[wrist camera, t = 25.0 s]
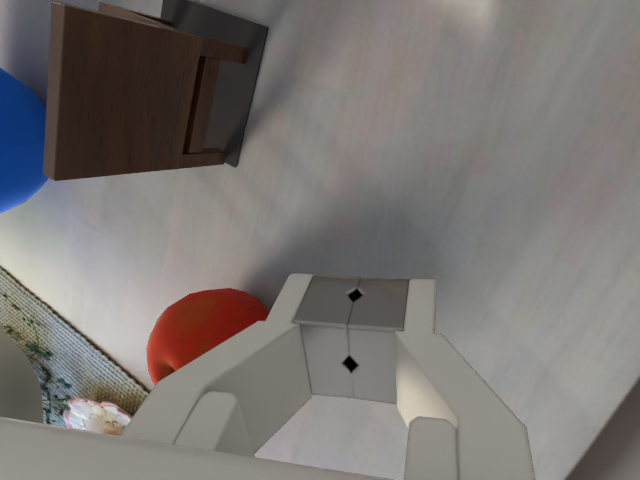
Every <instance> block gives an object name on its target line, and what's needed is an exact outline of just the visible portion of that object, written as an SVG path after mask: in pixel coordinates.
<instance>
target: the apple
mask: <svg viewBox="0 0 640 480" xmlns="http://www.w3.org/2000/svg"><path fill="white" fill-rule="evenodd" d="M269 313H270V312H269V311H268V310H267V309H266V308H265V307H264V306H263V305H262V304H261V303H260V301H259V300H258V299H256V298H254V297H252V296H251V295H249V294H247V293H245V292H243V291H239V290H235V289H231V288H226V289H216V290H206V291H201V292H196V293H192V294H189V295H187V296H186V297H184V298H182V299H181V300H179V301H177V302H176V303H174V304H173V305H171V306H169V307H168V308H167V309H166V310H165V311H164V312H163V314H162V315H161V316H160V317H159V318H158V320H157V322H156V324H155V326H154V328H153V330H152V332H151V335H150V338H149V341H148V345H147V363H148V371H149V374H150V376H151V379H152V382H153V383H154V385H156V384H157V382H158V381H160V380H162V379H163V378H165V377H167V376H168V375H170V374H172V373H173V372H175V371H177V370H178V369H180V368H182V367H183V366H185V365H187V364H188V363H190V362H191V361H193V360H195V359H196V358H198V357H200V356H201V355H203V354H205V353H206V352H208V351H210V350H211V349H213V348H215V347H216V346H218V345H220V344H221V343H223V342H224V341H226V340H228V339H229V338H231V337H233V336H234V335H236V334H238V333H239V332H241V331H243V330H244V329H246V328H248V327H249V326H251V325H253V324H254V323H256V322H257V321H266V319H267V317H268V315H269Z"/></svg>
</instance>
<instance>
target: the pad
mask: <svg viewBox="0 0 640 480" xmlns="http://www.w3.org/2000/svg"><path fill="white" fill-rule="evenodd" d="M161 18H163V19H166V20H169V21H171V22H173V26H174V28H176V29H179V30H181V31H184V32H187V33H190V34H193V35H197V36H201V37H205V38H209V39H214V40H218V41H222V42H226V43H230V44H234V45H238V46H241V47H244V48H247V49H249V51H248V58H247V60H246V64H241V63H236V62H231V61H226V60H221V59H220V60H221V61H220V66H219V71H218V77H217V82H216V87H215V92H214V97H213V102H212V107H211V112H210V117H209V122H208V128H207V133H206V138H205V143H204V148H216V147H217V148H219V149H221V150H223V151H225V152H226V159H225V161H224V162H225V163H227V164H229V165H231V166H233V167H236V165H237V161H238V156H239V152H240V148H241V143H242V139H243V135H244V131H245V126H246V122H247V118H248V113H249V109H250V105H251V100H252V96H253V92H254V87H255V83H256V79H257V75H258V70H259V66H260V62H261V57H262V53H263V49H264V44H265V40H266V36H267V31H268V27H266V26H263V25H260V24H257V23H254V22H251V21H248V20H245V19H242V18H239V17H236V16H233V15H230V14H227V13H224V12H221V11H218V10H215V9H212V8H209V7H206V6H203V5H200V4H197V3H194V2H191V1H188V0H163V4H162V11H161Z"/></svg>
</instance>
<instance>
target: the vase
mask: <svg viewBox="0 0 640 480" xmlns="http://www.w3.org/2000/svg"><path fill="white" fill-rule="evenodd" d="M45 123H46V107H45V105H44V104H43V103H42V102H41V100H40V99H39V98H38V97H37V96H36V95H35V94H34V93H33V92H32V91H31V90H30V89H29V88H28V87H27V86H26V85H24V84H23V83H22V82H20V81H19V80H17V79H16V78H14V77H13V76H11V75H10V74H9V73H7V72H6V71H4V70H3V69H1V68H0V213H2V212H4V211H7V210H9V209H11V208H13V207H15V206H17V205H19V204H21V203H23V202H25V201H26V200H28V199H29V198H30V197H31V196H32V195H33V194H34V193H36V192H37V191H38V190H39V189H40V188H41V187H42V186H43V185H44V183H45V182H46V181H47V179H48V177H47V176H45V175H44V174H43V161H44V142H45Z"/></svg>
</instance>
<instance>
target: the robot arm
mask: <svg viewBox="0 0 640 480" xmlns="http://www.w3.org/2000/svg"><path fill="white" fill-rule="evenodd" d="M435 317H436V280H435V279H410V280H409V279H380V278H361V277H349V276H334V275H319V274H315V275H314V274H300V273H293V274H291V275H289V276H288V278H287V280H286V282H285V284H284V286H283V288H282V290H281V292H280V294H279V296H278V298H277V300H276V301H275V303H274V305H273V307H272V309H271V311H270V313H269V315H268V317H267V319H266V321H257V322H256V323H254V324H253V325H251V326H249V327H248V328H246V329H244V330H243V331H241V332H239V333H238V334H236V335H234V336H233V337H231V338H229V339H228V340H226V341H224V342H223V343H221V344H220V345H218V346H216V347H215V348H213V349H211V350H210V351H208V352H206V353H205V354H203V355H201V356H200V357H198V358H196V359H195V360H193V361H191V362H190V363H188V364H187V365H185V366H183V367H182V368H180V369H178V370H177V371H175V372H173V373H172V374H170V375H168V376H167V377H165V378H163V379H162V380H160V381H158V382H157V384H156V385H155V386H154V388H153V389H152V391H151V392H150V394H149V395H148V396H147V398H146V399H145V401H144V402H143V404H142V405H141V406H140V408H139V409H138V411H137V412H136V414H135V415H134V416H133V418H132V419H131V421H130V422H129V424H128V425H127V426H126V428H125V429H124V431H123V432H122V434H121V435H120V436H117V435H110V434H104V433H98V432H92V431H85V430H79V429H73V428H66V427H60V426H54V425H48V424H41V423H35V422H29V421H22V420H16V419H10V418H4V417H0V480H393V479H386V478H380V477H374V476H368V475H361V474H355V473H349V472H343V471H336V470H330V469H324V468H317V467H311V466H305V465H299V464H292V463H286V462H280V461H274V460H267V459H261V458H255V456H254V454H255V453H256V452H257V451H258V450H259V449H260V448H261V447H262V446H263V445H264V444H265V443H266V442H267V441H268V440H269V439H270V438H271V437H272V436H273V435H274V434H275V433H276V432H277V431H278V430H279V429H280V428H281V427H282V426H283V425H284V424H285V423H286V422H287V421H288V420H289V419H290V418H291V417H292V416H293V415H294V414H295V413H296V412H297V411H298V410H299V409H300V408H301V407H302V406H303V405H304V404H305V403H306V402H307V401H308V400H309V399H310V398H311V397H312V396H311V395H322V396H334V397H345V398H355V399H362V400H369V401H376V402H383V403H390V404H397V408H398V410H399V411H400V413H401V415H402V417H403V419H404V421H405V423H406V425H407V427H408V429H409V432H408V442H407V452H406V462H405V473H404V480H536V479H535V473H534V468H533V462H532V456H531V451H530V445H529V440H528V434H527V428H526V426H525V425H524V424H523V423H522V422H521V421H520V420H519V419H518V418H517V416H516V415H515V414H514V413H513V412H512V411H511V410H510V409H509V408H508V406H507V405H506V404H505V403H504V402H503V401H502V400H501V399H500V398H499V396H498V395H497V394H496V393H495V392H494V391H493V390H492V389H491V388H490V386H489V385H488V384H487V383H486V382H485V381H484V380H483V379H482V378H481V376H480V375H479V374H478V373H477V372H476V371H475V370H474V369H473V368H472V366H471V365H470V364H469V363H468V362H467V361H466V360H465V359H464V358H463V356H462V355H461V354H460V353H459V352H458V351H457V350H456V349H455V348H454V346H453V345H452V344H451V343H450V342H449V341H448V340H447V339H446V338H445V336H444V335H442V334H435Z"/></svg>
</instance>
